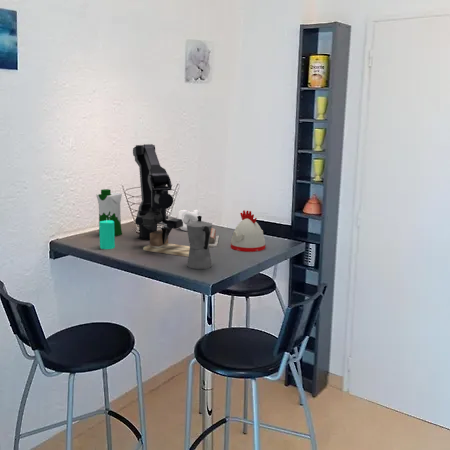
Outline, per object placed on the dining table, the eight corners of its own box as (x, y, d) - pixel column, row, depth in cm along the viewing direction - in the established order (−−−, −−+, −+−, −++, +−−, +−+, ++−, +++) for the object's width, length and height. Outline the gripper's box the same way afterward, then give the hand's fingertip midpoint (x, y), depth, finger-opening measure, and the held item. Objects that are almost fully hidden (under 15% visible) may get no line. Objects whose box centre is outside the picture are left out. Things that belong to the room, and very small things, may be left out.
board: (143, 250, 217) (143, 247, 217) (157, 244, 226) (157, 241, 226) (188, 256, 209) (188, 253, 208) (200, 250, 217) (200, 247, 217)
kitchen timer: (247, 241, 233) (248, 206, 230) (272, 247, 224) (273, 211, 221) (223, 247, 224) (224, 210, 221) (248, 253, 214) (249, 215, 211)
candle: (102, 249, 217) (101, 219, 214) (97, 246, 222) (96, 216, 219) (117, 248, 219) (116, 218, 217) (112, 244, 225) (111, 215, 222)
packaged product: (196, 226, 241) (219, 227, 240) (196, 237, 242) (219, 238, 241) (192, 235, 223) (217, 236, 223) (192, 247, 224) (216, 248, 224)
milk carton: (95, 235, 240) (94, 189, 236) (110, 231, 248) (109, 187, 243) (110, 238, 236) (109, 191, 231) (125, 234, 243) (124, 189, 239)
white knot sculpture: (180, 233, 247) (180, 213, 245) (172, 227, 258) (172, 208, 256) (204, 231, 251) (204, 211, 249) (196, 226, 262) (196, 207, 260)
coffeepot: (180, 262, 202) (180, 213, 198) (205, 259, 205) (205, 211, 201) (195, 273, 188) (195, 221, 184) (220, 271, 191) (221, 219, 187)
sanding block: (150, 246, 217) (149, 233, 216) (159, 243, 223) (159, 229, 222) (158, 248, 215) (158, 234, 214) (168, 244, 222) (168, 230, 220)
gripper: (126, 205, 213) (127, 244, 216) (168, 209, 205) (168, 250, 208) (143, 200, 223) (143, 238, 226) (183, 204, 215) (183, 244, 218)
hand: (159, 243), depth 219 cm, fingers closed on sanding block, 4 cm apart
